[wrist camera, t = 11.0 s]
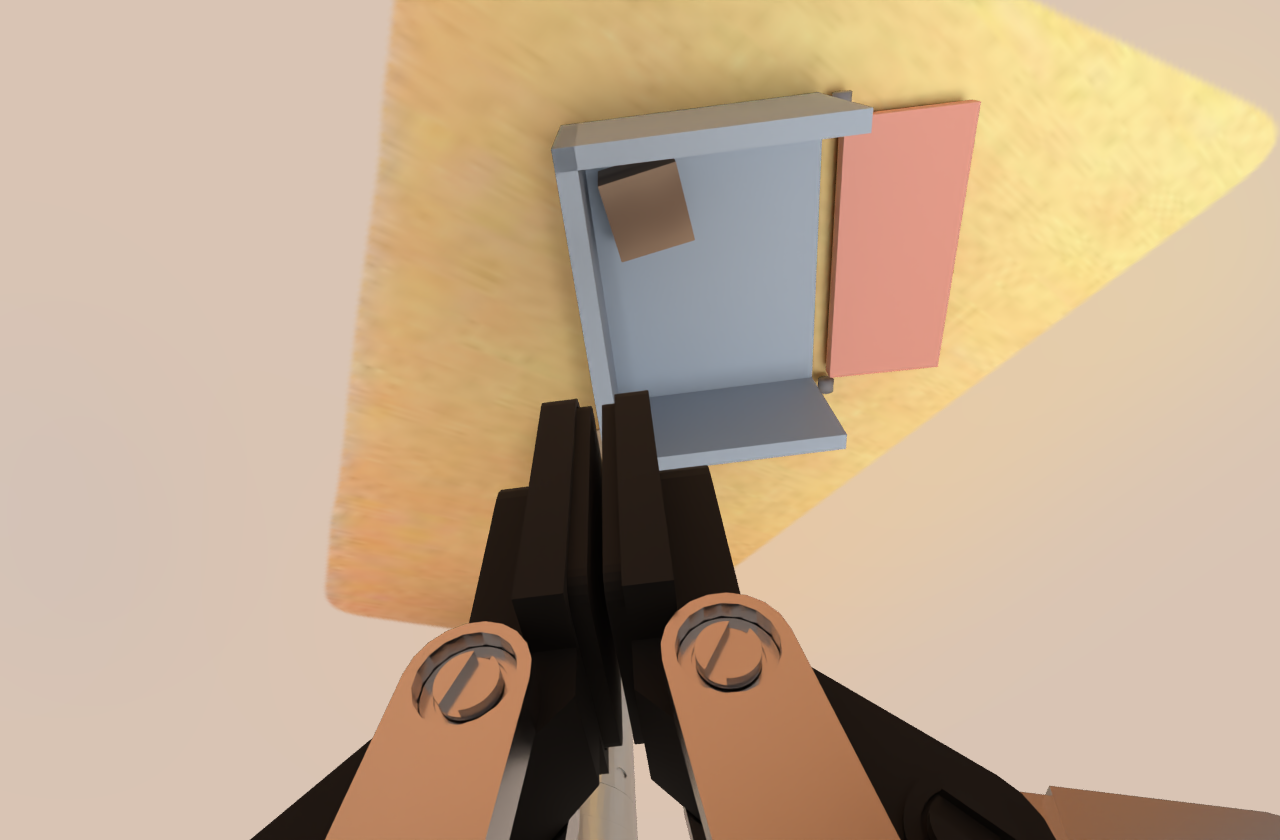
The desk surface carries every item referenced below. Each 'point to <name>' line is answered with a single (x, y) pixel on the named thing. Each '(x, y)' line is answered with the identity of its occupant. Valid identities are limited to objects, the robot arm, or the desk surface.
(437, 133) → the desk surface
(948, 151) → the tailgate
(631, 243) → the cargo block
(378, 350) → the desk surface
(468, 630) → the robot arm
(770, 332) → the tray
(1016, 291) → the desk surface
